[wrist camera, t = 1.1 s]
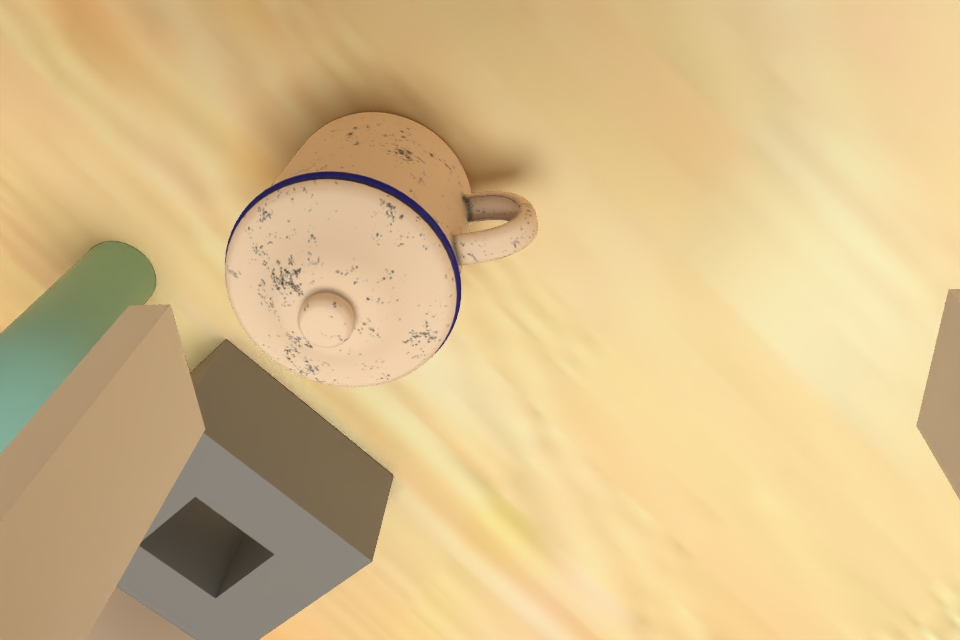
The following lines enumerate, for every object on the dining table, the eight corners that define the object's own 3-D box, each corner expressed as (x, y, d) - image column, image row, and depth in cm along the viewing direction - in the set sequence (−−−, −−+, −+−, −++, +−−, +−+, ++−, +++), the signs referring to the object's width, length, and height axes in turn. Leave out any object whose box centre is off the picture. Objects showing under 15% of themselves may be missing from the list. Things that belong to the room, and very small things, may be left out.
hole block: (101, 456, 50) (43, 538, 44) (226, 339, 45) (178, 414, 39) (262, 572, 53) (227, 660, 48) (393, 475, 49) (372, 561, 43)
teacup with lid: (317, 298, 43) (245, 444, 33) (258, 123, 39) (154, 230, 29) (555, 262, 41) (554, 406, 31) (521, 74, 37) (507, 171, 27)
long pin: (71, 271, 44) (-134, 463, 31) (110, 227, 42) (-87, 410, 29) (130, 317, 45) (-44, 521, 32) (170, 276, 43) (5, 473, 30)
